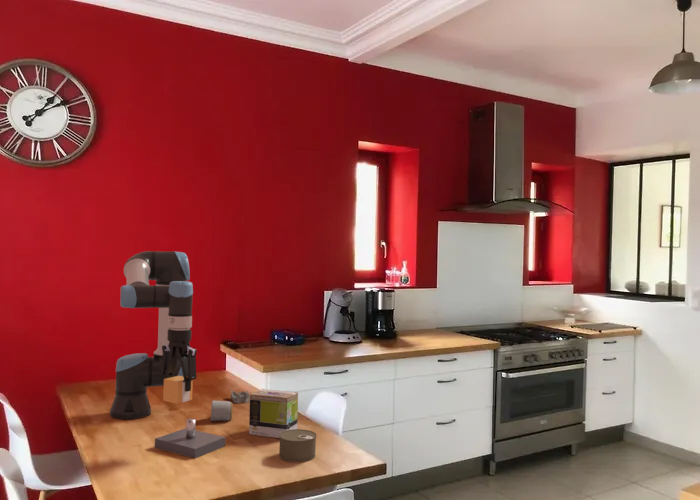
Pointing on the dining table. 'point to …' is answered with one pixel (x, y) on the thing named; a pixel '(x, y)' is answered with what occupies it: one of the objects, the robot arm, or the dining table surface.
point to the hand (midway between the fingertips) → (177, 399)
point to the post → (190, 428)
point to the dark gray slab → (190, 443)
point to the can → (297, 445)
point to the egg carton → (240, 397)
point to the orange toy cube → (174, 389)
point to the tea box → (272, 412)
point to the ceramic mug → (221, 411)
